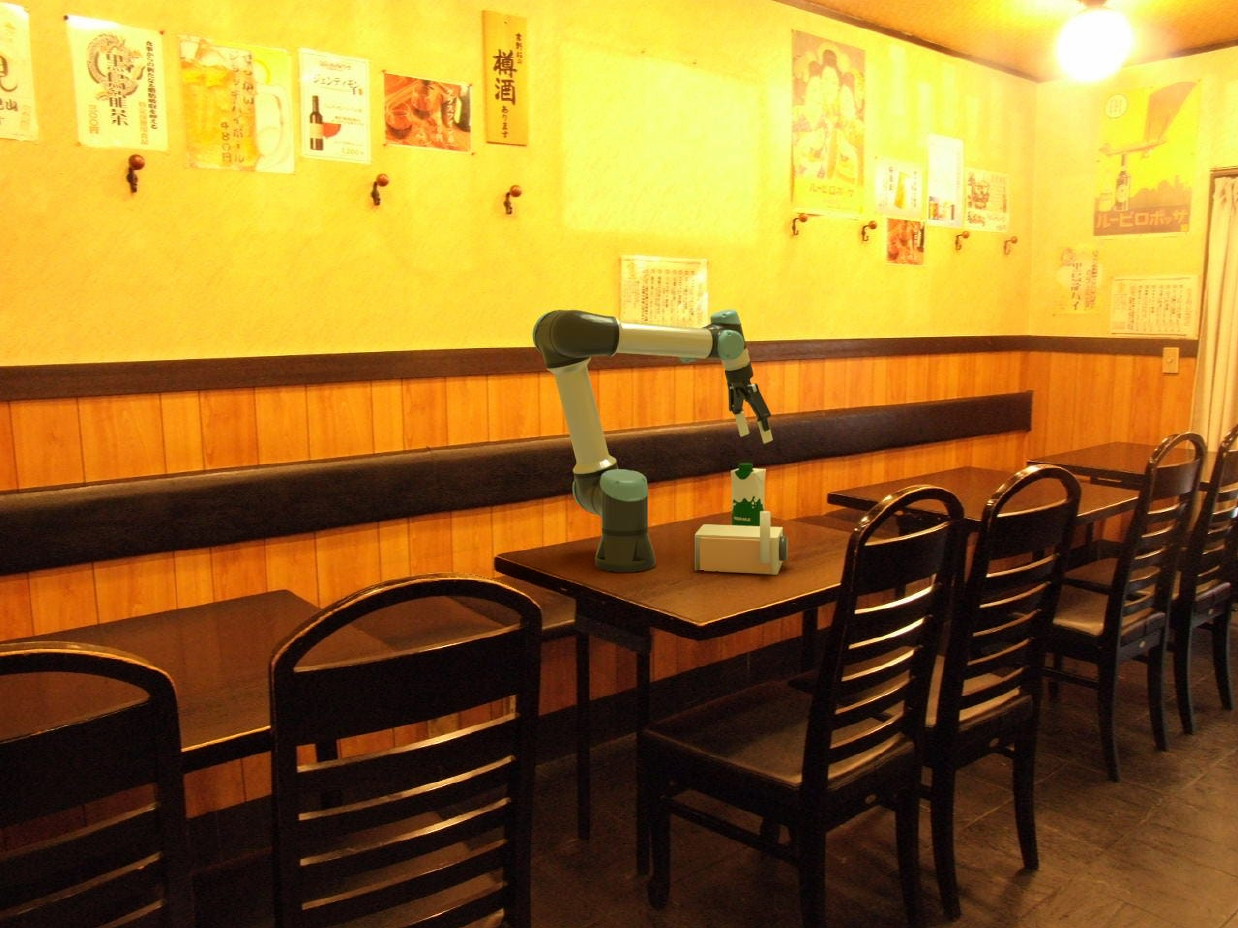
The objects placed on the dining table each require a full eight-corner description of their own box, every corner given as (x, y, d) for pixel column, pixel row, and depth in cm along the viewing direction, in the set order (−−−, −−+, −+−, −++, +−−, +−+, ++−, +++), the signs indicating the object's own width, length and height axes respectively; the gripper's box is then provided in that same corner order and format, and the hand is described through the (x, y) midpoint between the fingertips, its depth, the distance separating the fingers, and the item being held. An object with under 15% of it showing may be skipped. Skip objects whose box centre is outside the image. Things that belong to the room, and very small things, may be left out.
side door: (692, 573, 234) (692, 510, 232) (696, 568, 239) (695, 506, 237) (769, 577, 230) (769, 513, 227) (771, 572, 234) (772, 509, 232)
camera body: (694, 570, 239) (694, 534, 238) (703, 558, 251) (703, 524, 250) (784, 574, 234) (784, 538, 232) (788, 562, 245) (789, 527, 244)
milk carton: (727, 533, 280) (727, 463, 277) (741, 527, 287) (741, 459, 284) (756, 536, 275) (756, 465, 272) (769, 530, 282) (769, 461, 279)
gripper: (771, 364, 257) (790, 439, 263) (728, 358, 280) (746, 427, 286) (746, 374, 255) (766, 449, 261) (705, 367, 278) (724, 436, 284)
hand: (756, 438), depth 273 cm, fingers open, 13 cm apart
